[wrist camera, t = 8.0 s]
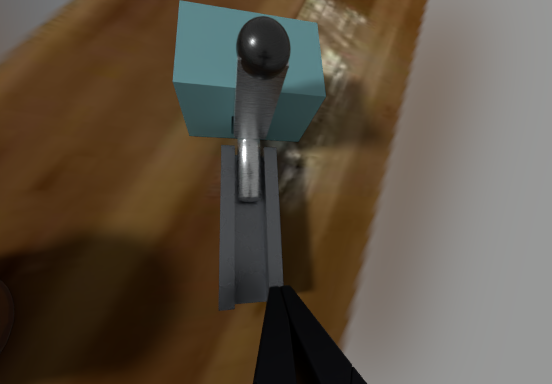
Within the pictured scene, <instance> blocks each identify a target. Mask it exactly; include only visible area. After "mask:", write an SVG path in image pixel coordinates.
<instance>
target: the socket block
mask: <svg viewBox="0 0 552 384" xmlns="http://www.w3.org/2000/svg"><path fill="white" fill-rule="evenodd" d="M259 16H266V17H270V18H273V19H275V20H276V21H278V22H279V23H280V24H281V25H282V26H283V27H284V29H285V30H286V32H287V34H288V37H289V40H290V46H291V53H290V59H289V68H288V71H287V74H286V77H285V80H284V83H283V86H282V90H281V93H280V96H279V99H278V102H277V105H276V108H275V111H274V115H273V118H272V121H271V124H270V127H269V130H268V133H267V136H266V139H260V140H275V141H294V142H299V140H300V138H301V137H302V135H303V133H304V132H305V130H306V129H307V127H308V125H309V124H310V122H311V120H312V119H313V117H314V115H315V114H316V112H317V110H318V109H319V107H320V106H321V104H322V102H323V101H324V99H325V97H326V93H325V85H324V76H323V68H322V60H321V52H320V44H319V35H318V27H317V23H314V22H308V21H302V20H296V19H289V18H283V17H277V16H271V15H265V14H259V13H253V12H247V11H241V10H235V9H229V8H223V7H216V6H210V5H204V4H198V3H192V2H186V1H180V2H179V14H178V26H177V38H176V50H175V62H174V73H173V84H174V87H175V90H176V94H177V97H178V100H179V103H180V107H181V110H182V113H183V116H184V120H185V123H186V126H187V129H188V132H189V136H201V137H220V138H234V102H235V80H236V58H237V54H236V40H237V36H238V34H239V32H240V30H241V28H242V27H243V25H244V24H245V23H246V22H248V21H249V20H251V19H253V18H255V17H259Z"/></svg>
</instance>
